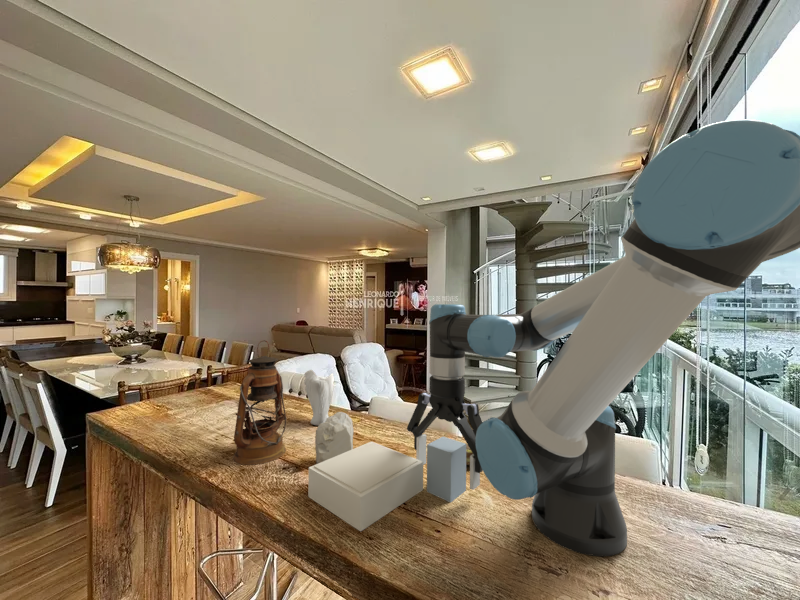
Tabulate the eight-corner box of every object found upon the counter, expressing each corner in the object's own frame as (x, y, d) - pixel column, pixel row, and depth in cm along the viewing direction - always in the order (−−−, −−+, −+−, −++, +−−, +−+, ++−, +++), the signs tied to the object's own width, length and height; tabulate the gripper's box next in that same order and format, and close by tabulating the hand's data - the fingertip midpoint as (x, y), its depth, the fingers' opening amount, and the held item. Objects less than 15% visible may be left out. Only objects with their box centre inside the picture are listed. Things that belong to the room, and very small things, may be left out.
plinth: (423, 489, 73) (423, 460, 73) (360, 531, 60) (360, 495, 60) (371, 465, 84) (371, 440, 84) (308, 496, 70) (308, 466, 70)
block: (466, 490, 73) (466, 443, 73) (450, 502, 68) (451, 452, 69) (442, 480, 77) (442, 436, 77) (426, 491, 72) (427, 444, 73)
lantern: (264, 438, 101) (265, 336, 101) (300, 445, 96) (301, 338, 96) (214, 462, 85) (215, 342, 85) (253, 472, 80) (255, 345, 80)
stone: (319, 469, 82) (319, 421, 82) (313, 460, 86) (313, 415, 86) (358, 458, 88) (358, 413, 88) (350, 451, 92) (350, 408, 92)
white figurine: (337, 420, 115) (337, 367, 116) (324, 429, 108) (324, 372, 108) (316, 418, 118) (316, 366, 118) (301, 426, 110) (302, 370, 111)
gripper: (510, 382, 68) (509, 489, 67) (413, 366, 84) (412, 452, 84) (493, 389, 62) (492, 506, 62) (392, 370, 78) (391, 462, 78)
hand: (446, 475), depth 73 cm, fingers open, 13 cm apart
